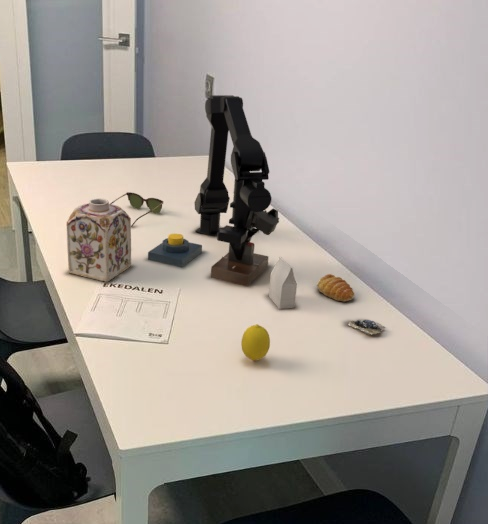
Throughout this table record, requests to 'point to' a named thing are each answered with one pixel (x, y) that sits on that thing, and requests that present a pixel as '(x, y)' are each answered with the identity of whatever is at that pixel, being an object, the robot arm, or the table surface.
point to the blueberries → (367, 326)
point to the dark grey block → (247, 254)
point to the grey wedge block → (283, 285)
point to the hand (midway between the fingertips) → (240, 258)
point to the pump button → (175, 239)
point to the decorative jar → (99, 240)
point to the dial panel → (239, 270)
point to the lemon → (255, 342)
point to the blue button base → (175, 253)
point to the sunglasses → (138, 201)
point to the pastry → (335, 288)
